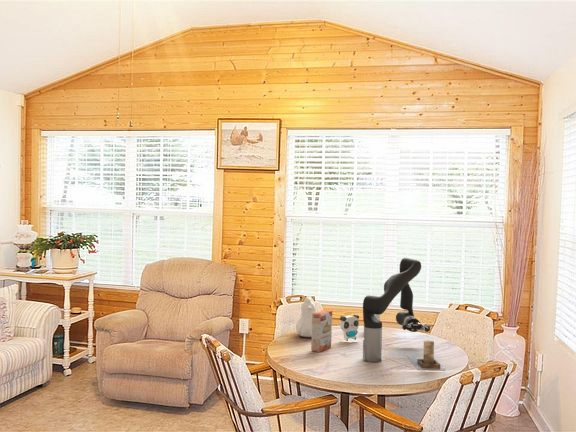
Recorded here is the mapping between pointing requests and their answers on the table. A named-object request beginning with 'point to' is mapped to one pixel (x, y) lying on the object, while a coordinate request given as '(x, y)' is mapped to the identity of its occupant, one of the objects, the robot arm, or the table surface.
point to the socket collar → (435, 365)
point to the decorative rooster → (306, 318)
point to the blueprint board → (414, 361)
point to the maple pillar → (428, 352)
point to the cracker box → (321, 330)
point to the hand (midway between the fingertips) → (419, 329)
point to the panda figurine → (349, 326)
